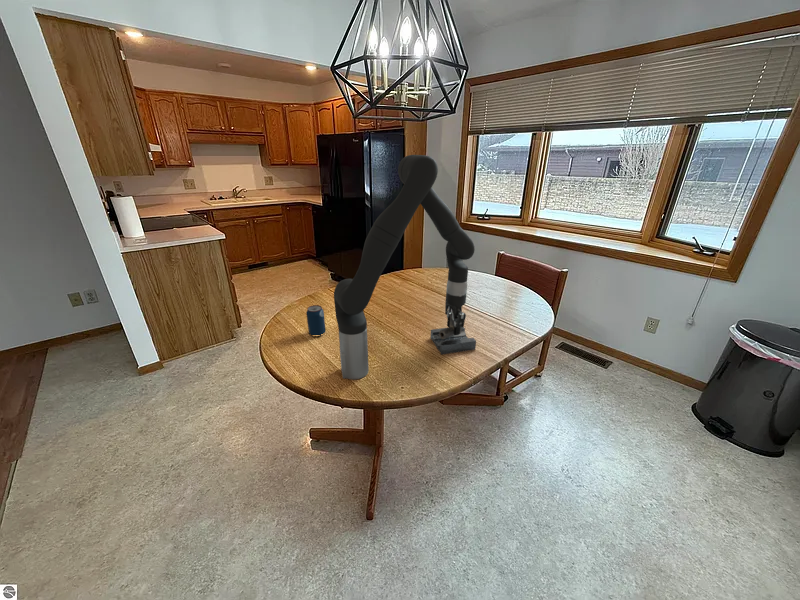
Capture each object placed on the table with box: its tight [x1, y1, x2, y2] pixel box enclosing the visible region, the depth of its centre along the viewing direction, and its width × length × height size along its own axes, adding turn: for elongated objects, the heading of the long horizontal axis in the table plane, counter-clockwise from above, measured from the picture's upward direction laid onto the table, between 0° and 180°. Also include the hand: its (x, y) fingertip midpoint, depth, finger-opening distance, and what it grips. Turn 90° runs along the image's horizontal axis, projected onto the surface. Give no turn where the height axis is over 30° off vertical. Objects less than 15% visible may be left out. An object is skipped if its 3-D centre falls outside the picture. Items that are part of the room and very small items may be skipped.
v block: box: [430, 326, 477, 355], centre depth 129 cm, size 14×12×4 cm
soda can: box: [305, 304, 327, 336], centre depth 134 cm, size 7×7×12 cm
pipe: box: [439, 311, 467, 339], centre depth 125 cm, size 6×13×8 cm, turn 133°
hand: (453, 330), depth 127 cm, fingers closed on pipe, 6 cm apart
